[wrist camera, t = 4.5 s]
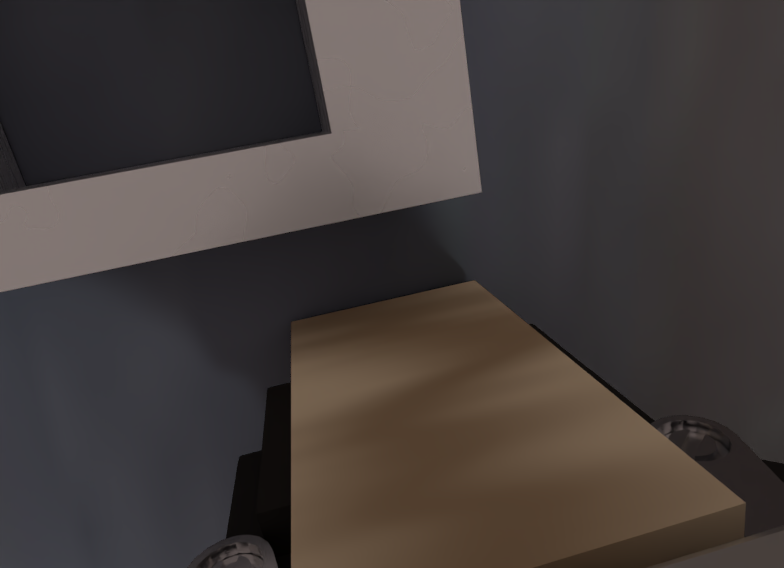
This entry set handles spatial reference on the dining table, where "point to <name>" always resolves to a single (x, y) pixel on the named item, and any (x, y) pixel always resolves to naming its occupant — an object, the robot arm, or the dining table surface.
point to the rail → (273, 156)
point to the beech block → (478, 449)
